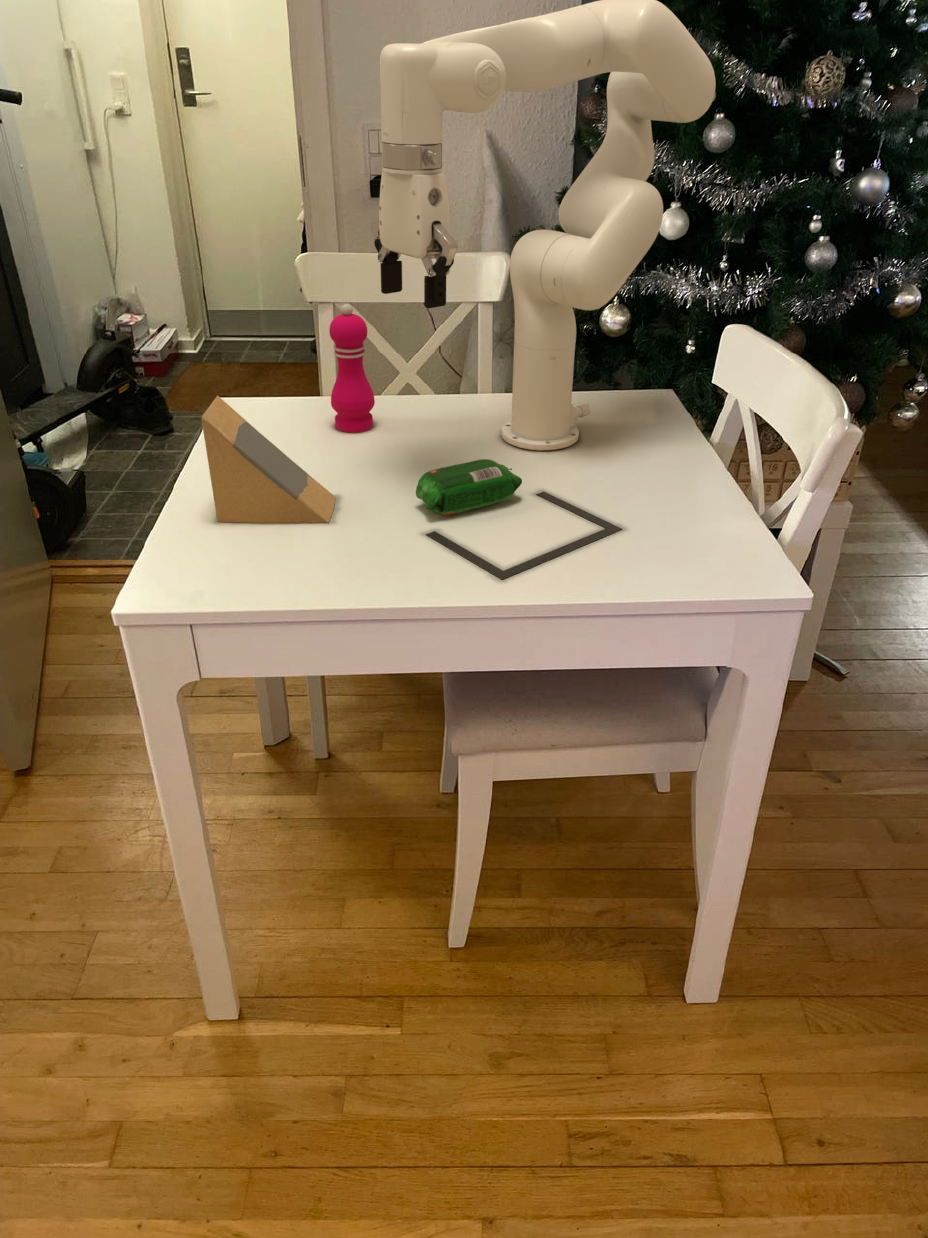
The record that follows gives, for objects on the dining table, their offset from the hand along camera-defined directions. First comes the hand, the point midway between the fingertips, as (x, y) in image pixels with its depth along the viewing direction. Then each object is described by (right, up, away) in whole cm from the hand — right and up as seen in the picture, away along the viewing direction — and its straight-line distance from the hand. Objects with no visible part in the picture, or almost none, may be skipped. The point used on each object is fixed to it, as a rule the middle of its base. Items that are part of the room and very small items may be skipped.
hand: (413, 299), depth 127 cm
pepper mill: (-12, -11, +31) cm, 35 cm away
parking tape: (+15, -32, -1) cm, 35 cm away
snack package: (+8, -27, +6) cm, 29 cm away
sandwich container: (-19, -28, +4) cm, 34 cm away
